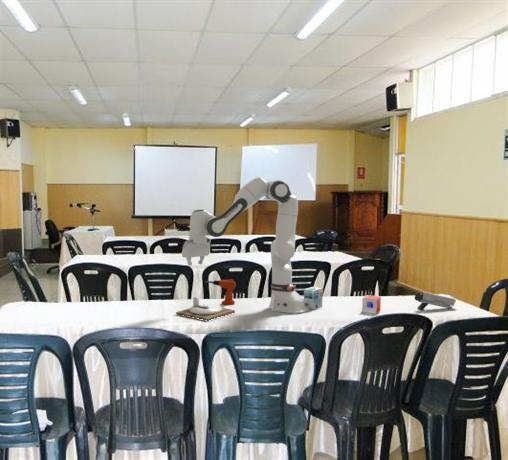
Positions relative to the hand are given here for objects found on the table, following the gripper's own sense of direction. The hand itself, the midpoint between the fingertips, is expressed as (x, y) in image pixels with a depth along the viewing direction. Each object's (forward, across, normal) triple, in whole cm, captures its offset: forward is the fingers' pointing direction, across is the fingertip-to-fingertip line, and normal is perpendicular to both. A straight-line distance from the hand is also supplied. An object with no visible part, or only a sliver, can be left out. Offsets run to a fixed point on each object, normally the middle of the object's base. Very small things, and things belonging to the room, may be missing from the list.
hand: (195, 264), depth 258 cm
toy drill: (+25, +22, -4) cm, 33 cm away
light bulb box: (+21, +45, -52) cm, 72 cm away
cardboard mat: (+25, 0, -10) cm, 27 cm away
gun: (+16, +79, -112) cm, 138 cm away
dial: (+23, 0, -9) cm, 25 cm away
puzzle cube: (+19, +54, -82) cm, 101 cm away
